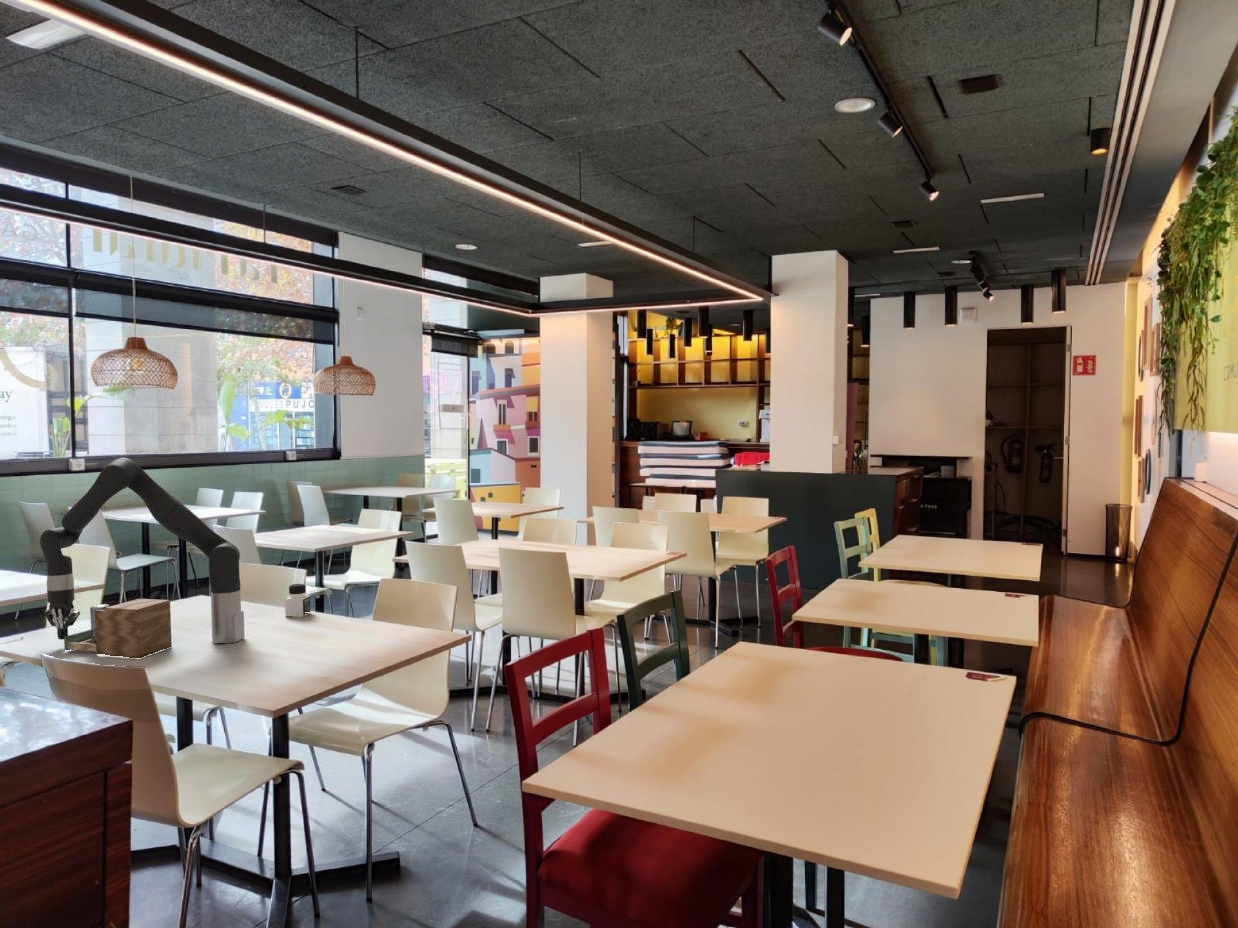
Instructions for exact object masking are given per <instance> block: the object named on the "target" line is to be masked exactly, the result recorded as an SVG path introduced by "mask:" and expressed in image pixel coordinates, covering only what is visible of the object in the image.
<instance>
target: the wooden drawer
mask: <svg viewBox="0 0 1238 928" xmlns="http://www.w3.org/2000/svg"><path fill="white" fill-rule="evenodd" d="M63 641H64V642H63V643H64V644H63V645H64V651H65V650H70V649H71V650H73V651H84V652H85V651H88V652H96V643H92V636H91V628H90V629H86V630H83V631H80V632H77V633H73V634H68V636H66V637H64V639H63Z"/></svg>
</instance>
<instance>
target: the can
mask: <svg viewBox="0 0 1238 928" xmlns="http://www.w3.org/2000/svg"><path fill="white" fill-rule="evenodd" d="M110 606H111V605H109V604H106V603H103V604H96V605H92V606H90V607H89V609H90V610H89V611H90V612H89V613H90V629H91V636H92V643H96V632H95V610H105V608H106V607H110Z"/></svg>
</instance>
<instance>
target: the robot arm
mask: <svg viewBox="0 0 1238 928" xmlns="http://www.w3.org/2000/svg"><path fill="white" fill-rule="evenodd" d="M124 489H130V490H131V491H132V492H133V493H135V494H136V495H137V496H138V497H140V498H141V499H142V501H143V502H144V504H145V506H146V508H147V509H148V511H149V513H150V515H151V516H152V517H153V519H154V520H155V521H156V522H157V523H158V524H160V525H161V526H162V527H163V528H165V529H166V530H167V531H168V532H170V533H172V534H173V535H174V536H176V537H177V538H179V539H182V540H183V541H186V542H188V543H190V544H191V545H193V546H195V548H197V549H199V550H200V552H202V553H203V554H204V555H205V556H206V557H207V558H208V574H209V575H208V577H209V587H210V606H211V607H210V609H211V610H210V611H211V612H210V613H211V639H212V640H211V641H212V644H216V643H226V644H231V643H234V644H235V643H238V642H240V641H242V640H244V639H245V637H246V636H245V614H244V613H245V612H244V610H242V600H241V579H240V559H241V553H240V550H239V549H238V547H237V546H236V545H235V544H233V543H232V542H230V541H228V540H226V539H225V538H224V537H222V536H220V535H219V534H218V533H216V532H215V531H213V530H212V529H211V528H210V527H209V526H208V525H207V524H206V523H205V522H204V521H202V520H201V519H200V518H199V517H198V516H197V515H196V514H195V513H194V512H192V510H190V509H189V508H188V507H187V506H185V505H184V504H183V503H182V502H181V501H179V500H178V499H176V498H175V497H174V496H173V495H171V494H170V493H169V492H167V490H166V489H164V488H163V487H162V486H160V485H159V483H157V482H156V481H155V480H154V479H153V478H151V476H149V474H148V473H147V472H146V471H145V470H144V469H143V468H141V466H140V465H138V463H136V462H135V461H133V460H132V459H130V458H127V457H120V458H119V457H118V458H116V459H114V460H113V461H111V462H110V463H108V464H106V465H105V466H104V467H103V468H102V470H101V471H100V473H99V474H98V476H97V478H96V480H95V481H94V483H93V484H92V485H91V487H90V488H89V490H88V491H87V492H86V493H85V494H84V495H83V496H82V497H81V498H80V499H79V500H78V501H77V502H76V503H75V504H74V505H73V506H72V507H71V508H70V509H69V510H68V511H67V512H66V513H65V514H64V515H63V517H62V518H61V521H60V522H61V526H60V527H54V528H49V529H45V530H44V531H43V532H42V533H41V535H40V538H39V545H40V546H39V547H40V548H41V551H42V554H43V558H44V560H45V562H46V574H47V577H46V593H47V594H46V595H47V603H48V604H49V605H48V606H49V608H48V609H47V610H45V611H43V613H42V614H43V615H44V616H45V618H46V620H47V621H48V623H49V624H50V625H51V626H52V627H55V628H56V631H57V632H56V633H57V634H56V635H57V639H58V640H62V641H64V637H66V636H69V627H72V626H74V624H75V623H76V620H77V619H78V618H79V617H80V614H81V612H80V611H79V610H76V609H75V606H74V603H73V602H74V600H75V597H76V596H75V579H74V575H73V560H72V557H71V556H69V555H65V554H63V551H62V549H66V548H67V549H68V548H69V547H72V546H73V545H74V544H75V543H76V542H77V541H78V540H79V538H80V537H81V534H82V533H83V530H84V529H85V528H86V527H87V526H88V524H89V523H91V522H92V520H93V519H95V517H96V516H97V515H98V513H99V512H100V511H101V509H102V507H103V506H104V505H105V504H106V503H107V502H108V501H109V500H110V499H112V497H114V496H115V495H117V494H118V493H120V492H121V491H123V490H124ZM243 638H244V639H243ZM241 639H242V640H241ZM237 641H238V642H237Z"/></svg>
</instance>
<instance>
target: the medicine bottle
mask: <svg viewBox="0 0 1238 928" xmlns="http://www.w3.org/2000/svg"><path fill="white" fill-rule="evenodd" d="M284 609H285V611H284V612H285V614H284V615H285V617H286V616H304V617H306V616H305V614H308V613H305V612H310V613H311V595H310V594H307V588H306V584H304V583H293V584H291V585H289V586H288V597H286V598H285V599H284ZM308 615H309V614H308Z"/></svg>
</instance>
